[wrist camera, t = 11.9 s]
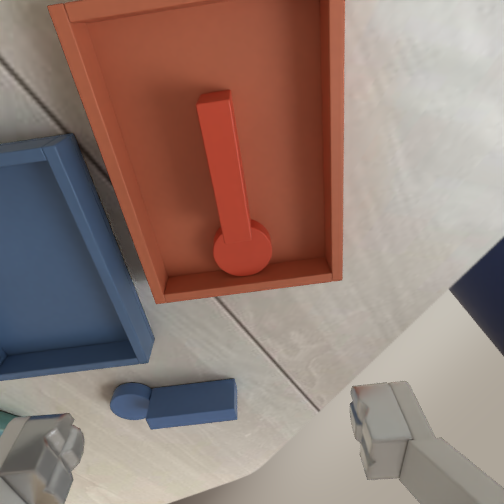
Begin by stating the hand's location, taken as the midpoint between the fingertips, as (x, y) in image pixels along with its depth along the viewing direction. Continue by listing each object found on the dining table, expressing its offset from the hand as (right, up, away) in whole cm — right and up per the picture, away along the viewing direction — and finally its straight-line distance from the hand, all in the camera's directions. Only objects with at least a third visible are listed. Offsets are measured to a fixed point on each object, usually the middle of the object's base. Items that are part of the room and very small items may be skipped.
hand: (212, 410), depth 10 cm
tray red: (0, +10, +11) cm, 15 cm away
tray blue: (-14, +4, +14) cm, 20 cm away
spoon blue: (-6, -8, +22) cm, 24 cm away
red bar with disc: (0, +8, +12) cm, 14 cm away
